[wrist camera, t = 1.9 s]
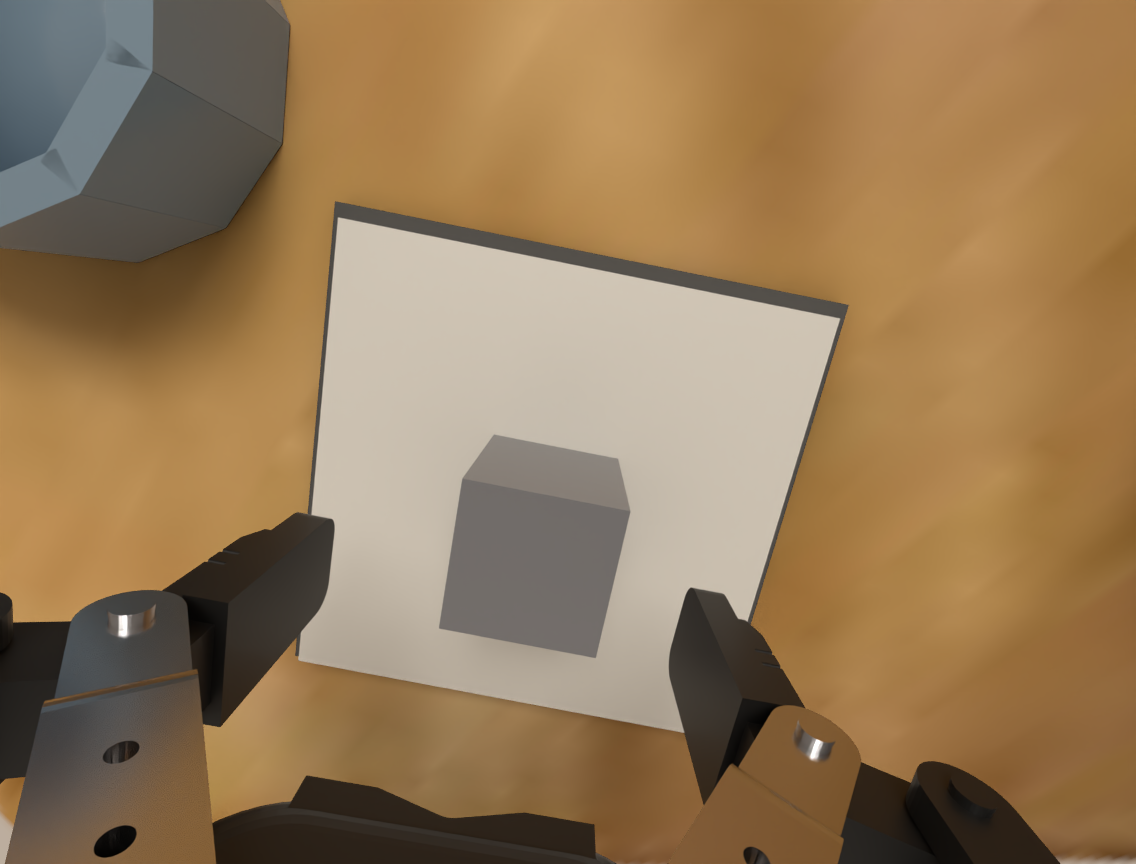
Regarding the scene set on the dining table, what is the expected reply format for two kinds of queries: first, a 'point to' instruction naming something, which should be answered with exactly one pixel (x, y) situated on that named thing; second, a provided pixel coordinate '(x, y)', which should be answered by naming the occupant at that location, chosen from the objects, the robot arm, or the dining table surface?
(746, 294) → the mat
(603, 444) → the lid
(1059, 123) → the dining table surface
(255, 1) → the bowl
